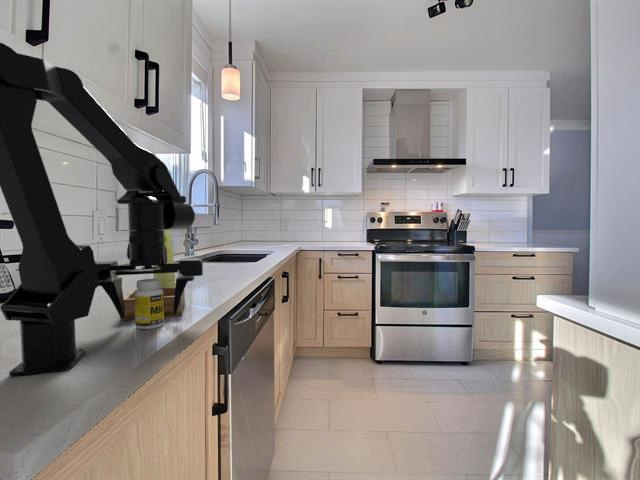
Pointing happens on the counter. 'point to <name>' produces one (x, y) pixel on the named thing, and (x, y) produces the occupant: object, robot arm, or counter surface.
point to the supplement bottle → (149, 304)
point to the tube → (167, 278)
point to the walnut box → (168, 303)
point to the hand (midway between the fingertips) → (149, 315)
